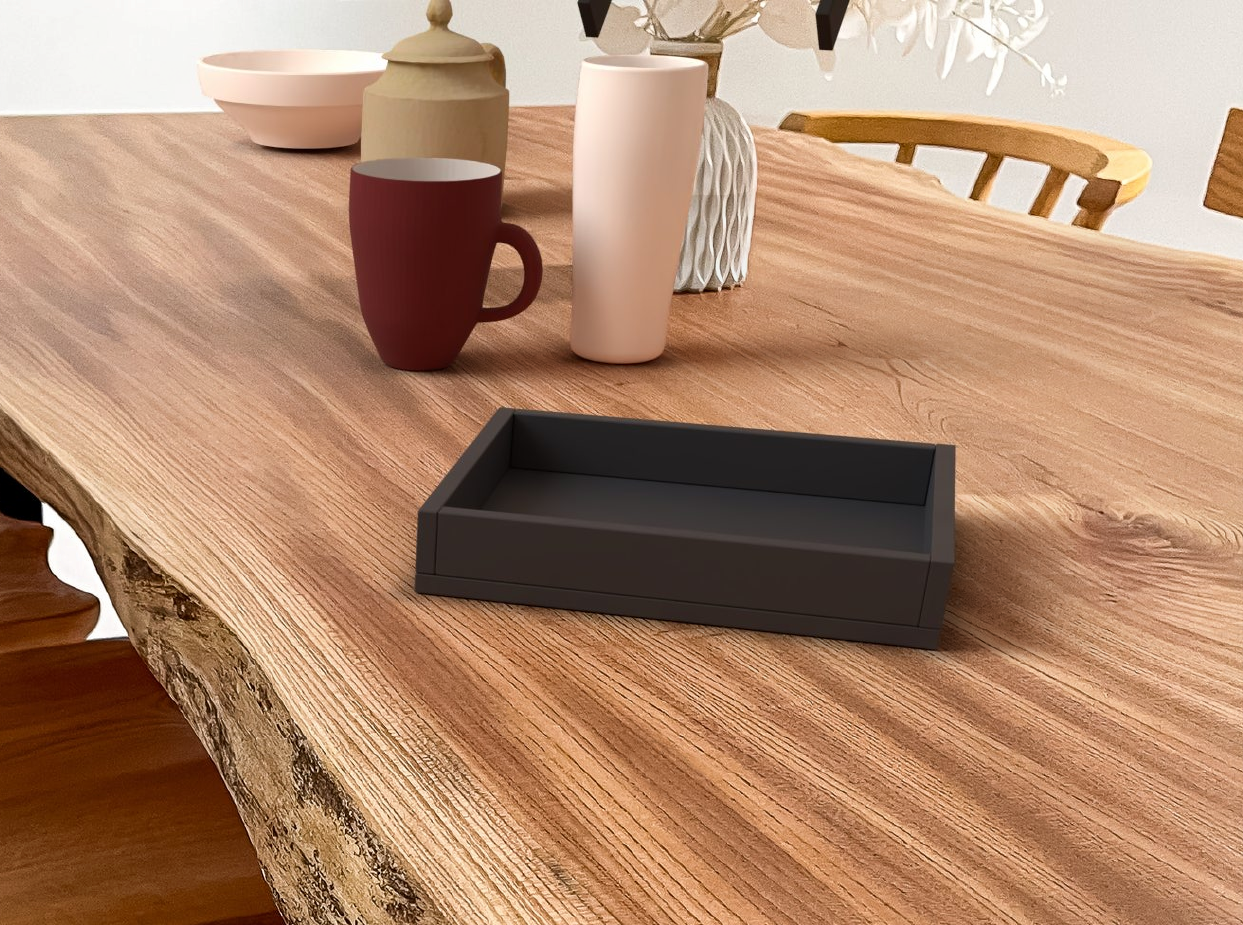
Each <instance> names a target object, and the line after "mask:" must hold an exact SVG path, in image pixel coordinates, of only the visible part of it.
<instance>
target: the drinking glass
mask: <svg viewBox="0 0 1243 925" xmlns="http://www.w3.org/2000/svg"><path fill="white" fill-rule="evenodd" d="M708 75H709V64H708V62H707V61H705V60H703V59H698V58H692V57H685V56H676V55H675V56H674V55H662V54H661V55H660V54H659V55H657V54H609V55H597V56H589V57H586V58H583V59H582V60H581V62H580V66H579V73H578V82H577V88H576V89H577V90H576V99H575V108H574V120H573V121H574V122H573V133H572V134H573V135H572V136H573V137H572V169H571V170H572V171H571V172H572V173H571V174H572V175H571V177H572V186H571V188H572V195H571V196H572V203H571V204H572V209H571V210H572V211H571V212H572V214H571V215H572V217H571V218H572V219H571V220H572V224H571V225H572V234H571V235H572V237H571V238H572V240H571V241H572V244H571V245H572V246H571V247H572V250H571V252H572V254H571V255H572V256H571V267H572V268H571V281H572V282H571V315H570V328H569V346H570V349H571V350H572V352H573V353H574V354H576V355H577V356H578V357H580V358H583V359H586V360H589V361H593V362H597V363H603V364H604V363H605V364H606V363H607V364H617V365H618V364H639V363H644V362H646V363H647V362H649V361H653V360H655V359H658V357H660V356H661V355H662V354H663V352H664V351H665V348H666V344H667V335H668V328H669V318H670V312H671V306H672V300H673V294H674V291H675V290H674V289H675V284H676V279H677V275H678V274H677V273H678V270H679V263H680V257H681V252H682V247H683V242H684V237H685V231H686V226H687V222H688V215H689V211H690V206H691V201H692V195H693V191H694V186H695V180H696V176H697V171H698V164H699V159H700V153H701V146H702V140H703V132H704V124H705V116H706V105H707V103H706V102H707V94H708V93H707V91H708Z"/></svg>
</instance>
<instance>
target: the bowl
mask: <svg viewBox="0 0 1243 925" xmlns="http://www.w3.org/2000/svg"><path fill="white" fill-rule="evenodd" d="M383 54H384V53H383V52H374V51H365V50H350V49H349V50H348V49H347V50H345V49H322V48H319V49H317V48H290V49H289V48H287V49H285V48H284V49H283V48H282V49H281V48H280V49H279V48H278V49H256V50H255V49H254V50H239V51H229V52H222V53H214V54H209V55H206V56H202V57H200V58H198V60H197V61H196V68H197V69H196V70H197V78H198V82H199V83H198V84H199V87H200V91H201V94H202V95H203V96H204V97H207V98H209V99H213V101H214V103H215V104H216V105H217V106H218V107H219V108H220V109H221V110H222V111H223V112H224V113H225V114H226V115H227V116H228V117H229V118H231V120H233V121H234V122H235V123H237V125H238V126H240V127H241V128H242V129H243V130H244V131H245V132H246V133H247V135H248V136H249V139H251V141H252V142H253V143H255V144H257V145H259V146H266V147H274V148H283V149H331V148H339V147H345V146H351V145H354V144H356V143H358V142H359V140H360V139H361V133H362V111H363V94H364V89H365V87H367V86H369V85H371V84H374V83H375V82H376V81H377V80H378V79H379V78H380V77H381V76H382V74H383V73H384V71H385V69H386V66H387V62H388V60H385V59H382V57H381V56H382V55H383Z"/></svg>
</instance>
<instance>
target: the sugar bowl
mask: <svg viewBox="0 0 1243 925" xmlns="http://www.w3.org/2000/svg"><path fill="white" fill-rule="evenodd" d="M453 12H454V11H453V6H452V2H451V1H450V0H430V1H429V3H428V5H427V8H426V12H425V16H426V19H427V21H428V22H429V28H428V29H427V30H425V31H422V32H419V33H416V34H414V35H411V36H408V37H406V38H403V39H401V40H399V41H398V42H397V43H395V45H394V46H393V47H392V48H391V50H390V51H387V52H385V53H384V54H383V55H382V56H381V57H382V59H385V60H388V62H387V66H386V69H385V71H384V73H383V74H382V76H381V77H380V78H379V79H378V80H377V81H376V82H375V83H374V84H371V85H369V86H367V87H365V89H364V94H363V111H362V133H361V137H360V163H362V162H366V161H372V160H380V159H391V158H448V159H460V160H470V161H477V162H482V163H487V164H491V165H494V166H497V167H499V168H500V169H501V170H502V198H501V209H502V208H503V199H504V186H505V176H506V175H505V174H506V163H507V153H508V152H507V151H508V136H509V118H510V90H509V89H508V88H507V87H506V86H507V69H506V61H505V56H504V54H503V52H502V51H501V49H500V47H498V46H497V45H495V44H493V43H491V42H481V43H480V42H479V41H477V39H474V38H473V37H472V38H471V37H469V36H466V35H464V34H461V33H458V32H455V31H453V30H451V29H450V28H449V27H448V26H449V24H450V22H451V20H452V18H453V15H454V13H453Z"/></svg>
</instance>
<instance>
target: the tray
mask: <svg viewBox="0 0 1243 925" xmlns="http://www.w3.org/2000/svg"><path fill="white" fill-rule="evenodd" d="M956 446H957V445H956V444H948V443H947V444H946V443H931V442H922V441H921V442H920V441H909V440H896V439H886V438H885V439H884V438H872V437H859V436H848V435H837V434H836V435H835V434H826V433H824V434H823V433H813V432H803V431H802V432H801V431H791V430H790V431H789V430H777V429H765V428H755V427H754V428H752V427H742V426H741V427H740V426H730V425H720V424H719V425H718V424H705V423H693V422H682V421H670V420H658V419H645V418H634V417H624V416H623V417H622V416H612V415H611V416H610V415H600V414H599V415H598V414H587V413H586V414H585V413H577V412H576V413H575V412H563V411H551V410H550V411H549V410H540V409H539V410H538V409H527V408H515V407H506V406H505V407H504V406H500V407H498V408H497V410H496V411H495V412H494V413H493V415H492V416H491V417H490V418H489V419H488V421H487V422H486V423H485V424H484V426H483V428H482V429H481V430H480V431H479V433H478V434H477V435H476V436H475V438H474V439H473V440H472V441H471V443H470V444H469V445H468V446H467V448H466V449H465V450H464V452H463V453H462V454H461V455H460V456H459V458H458V459H457V460H456V462H455V463H454V464H453V466H452V467H451V468H450V469H449V471H447V473H446V474H445V475H444V477H443V478H442V480H441V481H440V482H439V483H438V484H437V486H436V487H435V489H434V490H433V491H432V492H431V493H430V495H429V496H428V497H427V499H426V500H425V501H424V502H423V504H421V506H420V507H419V509H418V510H417V519H416V520H417V523H416V544H415V563H414V564H415V565H414V571H415V573H414V585H413V586H414V590H413V591H414V593H419V594H426V595H427V594H429V595H436V596H444V597H446V596H447V597H454V598H455V597H456V598H466V599H472V600H480V601H481V600H482V601H491V602H500V603H510V604H519V605H528V606H537V607H546V608H554V609H564V610H573V611H581V612H590V613H599V614H600V613H601V614H609V615H618V616H626V617H636V618H646V619H655V620H663V621H672V622H673V621H674V622H681V623H682V622H683V623H690V624H700V625H708V626H709V625H710V626H716V627H717V626H719V627H726V628H737V629H744V630H745V629H746V630H753V631H762V632H763V631H764V632H771V633H772V632H773V633H782V634H789V635H800V636H808V637H817V638H827V639H836V640H845V641H853V642H862V643H873V644H882V645H890V646H891V645H892V646H899V647H910V648H917V649H927V650H937V649H938V648H939V643H940V637H941V633H942V628H943V624H944V618H945V612H946V608H947V602H948V598H949V594H950V593H949V592H950V588H951V583H952V578H953V573H954V569H955V568H954V567H955V544H956V543H955V539H956V536H955V534H956V465H957V464H956V462H957V461H956V459H957V458H956V457H957V456H956V453H957V450H956V449H957V447H956Z"/></svg>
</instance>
